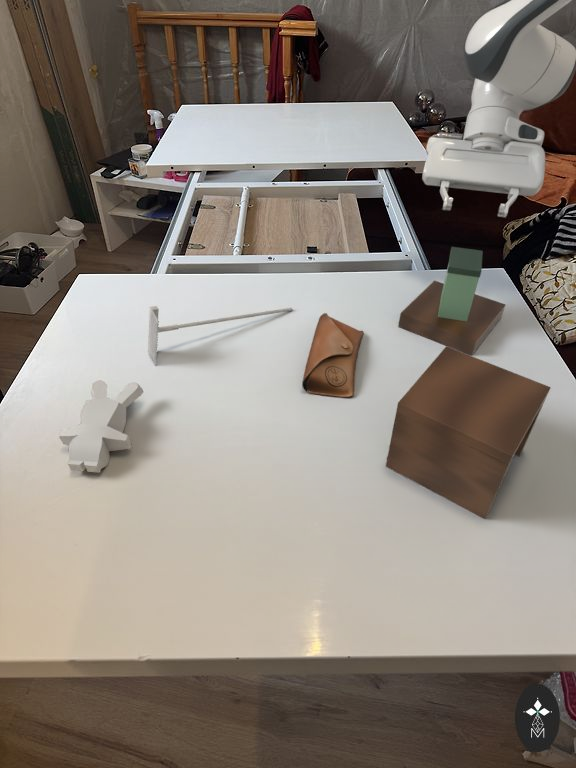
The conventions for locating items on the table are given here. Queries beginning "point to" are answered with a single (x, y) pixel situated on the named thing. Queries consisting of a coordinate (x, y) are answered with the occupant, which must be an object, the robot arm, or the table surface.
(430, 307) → the lower shelf
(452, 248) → the green lidded box
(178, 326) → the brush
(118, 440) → the white musician cutout
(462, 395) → the upper shelf
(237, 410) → the table surface
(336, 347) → the sunglasses case
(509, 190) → the robot arm
